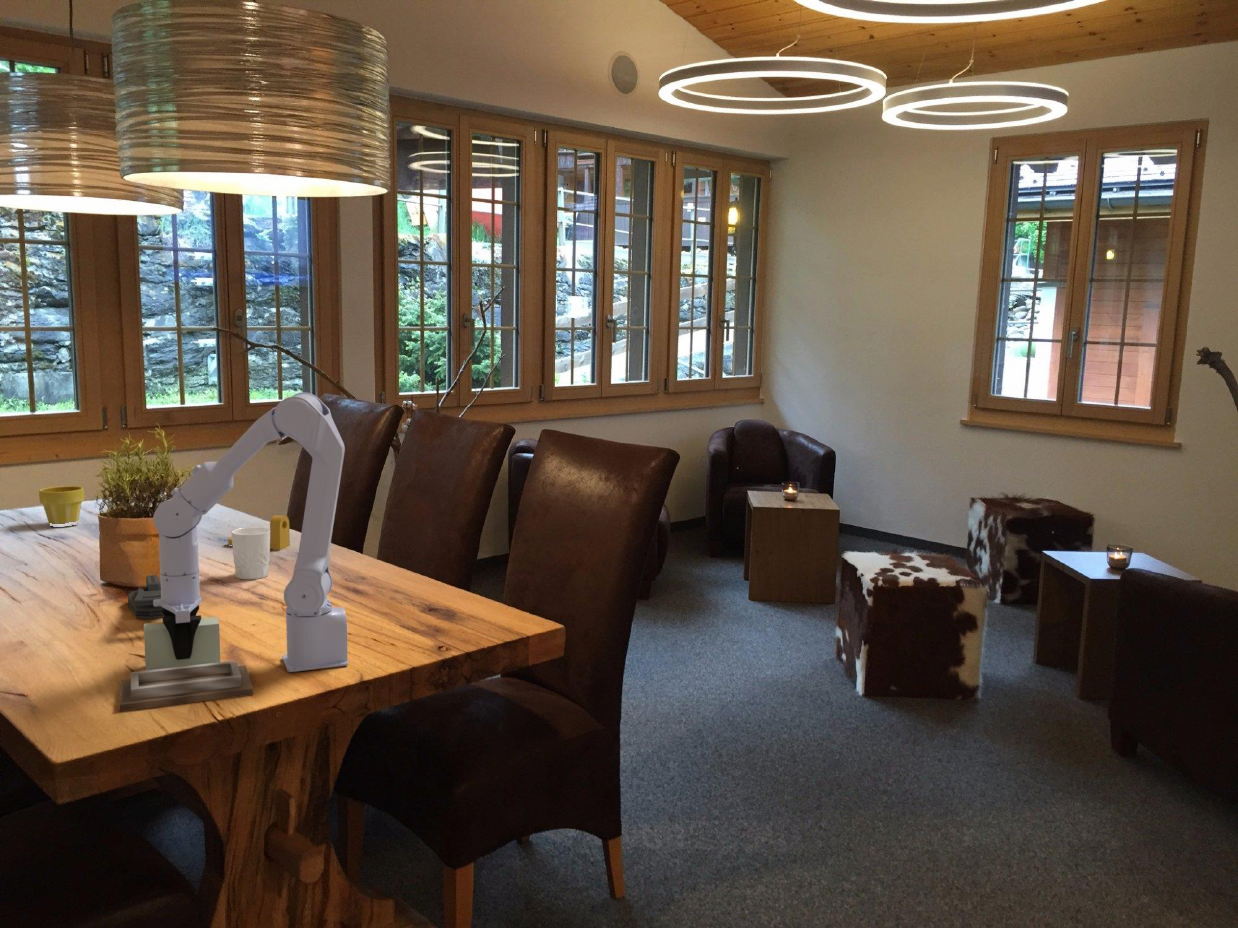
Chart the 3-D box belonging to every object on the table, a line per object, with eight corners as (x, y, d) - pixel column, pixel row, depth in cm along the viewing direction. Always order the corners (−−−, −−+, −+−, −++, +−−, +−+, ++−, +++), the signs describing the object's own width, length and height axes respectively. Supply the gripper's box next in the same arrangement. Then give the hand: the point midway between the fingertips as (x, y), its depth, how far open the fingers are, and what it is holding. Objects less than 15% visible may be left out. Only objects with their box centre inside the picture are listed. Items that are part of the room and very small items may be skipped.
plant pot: (34, 525, 268) (32, 488, 267) (75, 519, 276) (73, 484, 275) (50, 531, 262) (48, 493, 260) (92, 525, 270) (90, 488, 268)
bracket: (289, 547, 251) (289, 514, 249) (280, 551, 246) (279, 517, 245) (234, 543, 254) (233, 510, 253) (224, 547, 249) (223, 513, 248)
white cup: (279, 574, 224) (278, 529, 223) (251, 582, 217) (249, 536, 216) (253, 569, 228) (251, 525, 226) (224, 577, 221) (223, 531, 219)
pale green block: (218, 657, 169) (217, 617, 169) (220, 665, 166) (219, 623, 165) (145, 665, 165) (143, 623, 164) (145, 673, 161) (144, 631, 160)
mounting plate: (246, 671, 163) (245, 656, 163) (253, 694, 154) (252, 678, 153) (120, 686, 156) (120, 670, 155) (119, 711, 146) (119, 694, 146)
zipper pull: (129, 601, 178) (126, 568, 200) (131, 638, 179) (127, 601, 201) (185, 596, 182) (175, 564, 204) (186, 632, 183) (177, 597, 205)
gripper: (151, 563, 168) (154, 643, 170) (152, 585, 155) (156, 671, 157) (197, 560, 171) (200, 638, 173) (203, 581, 158) (205, 665, 160)
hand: (182, 654), depth 165 cm, fingers closed on pale green block, 4 cm apart
